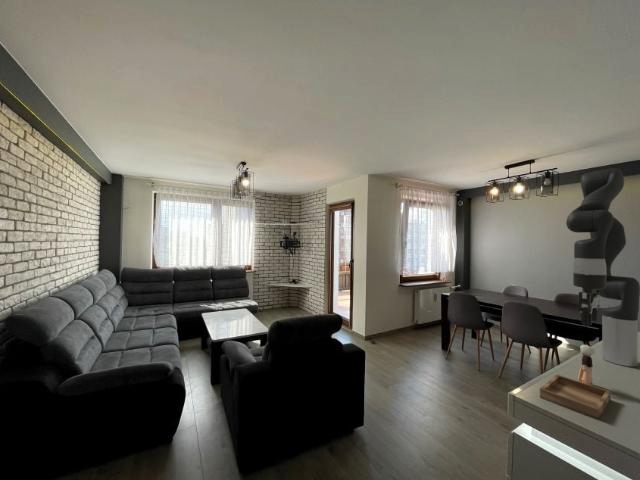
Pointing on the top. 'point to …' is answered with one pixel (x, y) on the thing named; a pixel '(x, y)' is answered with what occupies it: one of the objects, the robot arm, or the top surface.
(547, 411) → the top surface
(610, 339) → the robot arm
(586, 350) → the grandmother figurine
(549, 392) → the walnut tray
